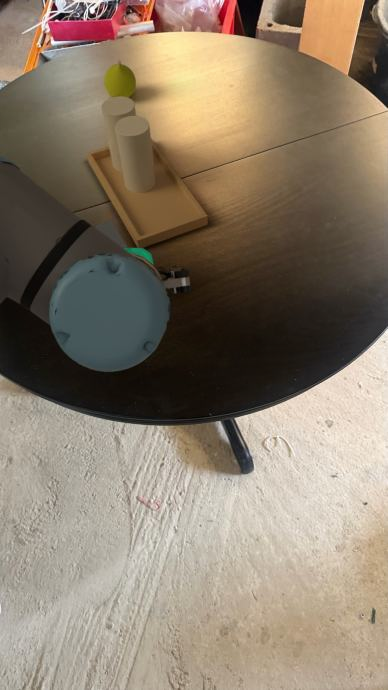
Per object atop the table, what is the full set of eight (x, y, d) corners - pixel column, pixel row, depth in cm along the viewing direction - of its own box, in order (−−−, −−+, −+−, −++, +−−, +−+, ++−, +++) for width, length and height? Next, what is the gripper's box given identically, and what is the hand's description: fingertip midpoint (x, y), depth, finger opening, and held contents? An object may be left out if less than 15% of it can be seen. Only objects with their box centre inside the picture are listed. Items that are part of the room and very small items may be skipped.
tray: (88, 162, 97) (86, 153, 95) (149, 143, 100) (148, 134, 98) (138, 249, 83) (137, 240, 82) (207, 224, 86) (207, 215, 85)
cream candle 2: (120, 178, 93) (110, 121, 83) (148, 169, 94) (141, 112, 84) (131, 196, 90) (122, 139, 80) (160, 187, 91) (154, 129, 81)
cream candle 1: (108, 159, 97) (96, 101, 87) (135, 150, 98) (127, 93, 88) (118, 175, 94) (108, 118, 84) (146, 166, 95) (139, 109, 85)
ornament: (126, 109, 107) (119, 63, 99) (101, 101, 109) (92, 55, 101) (143, 94, 111) (138, 48, 102) (118, 86, 113) (111, 41, 104)
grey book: (106, 275, 80) (93, 226, 71) (123, 269, 81) (112, 220, 72) (123, 309, 76) (112, 261, 67) (141, 302, 77) (131, 254, 68)
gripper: (34, 345, 44) (75, 311, 67) (223, 322, 45) (200, 297, 68) (19, 264, 43) (66, 258, 65) (215, 242, 44) (194, 244, 66)
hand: (134, 278), depth 67 cm, fingers closed on candle, 5 cm apart
